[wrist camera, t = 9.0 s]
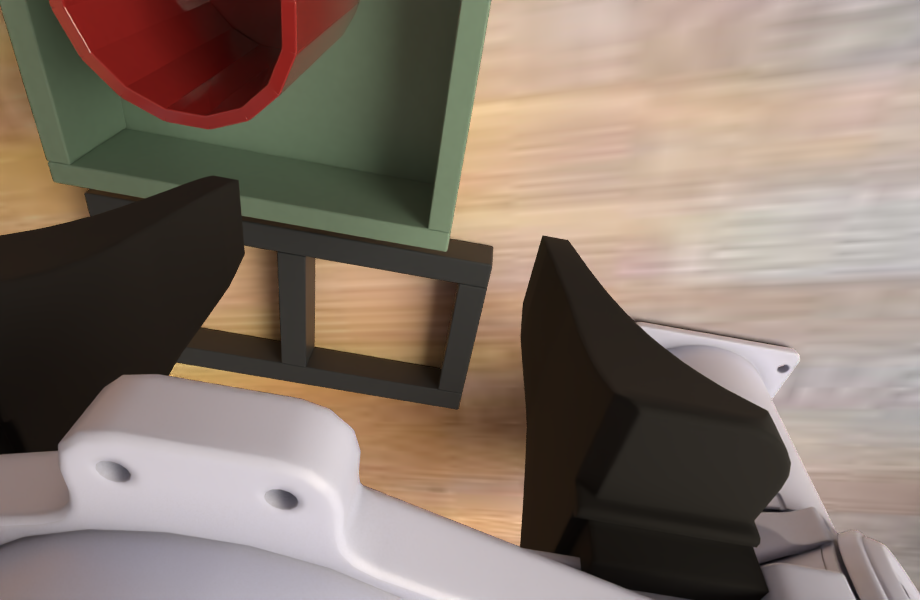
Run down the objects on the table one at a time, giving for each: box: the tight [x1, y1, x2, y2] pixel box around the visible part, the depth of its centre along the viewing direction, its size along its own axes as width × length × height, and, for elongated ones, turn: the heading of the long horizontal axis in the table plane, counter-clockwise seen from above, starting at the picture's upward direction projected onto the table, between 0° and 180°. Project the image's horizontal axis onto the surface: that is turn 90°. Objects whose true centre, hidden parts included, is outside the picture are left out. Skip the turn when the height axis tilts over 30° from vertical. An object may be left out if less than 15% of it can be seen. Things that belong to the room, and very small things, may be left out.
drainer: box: [84, 189, 493, 409], centre depth 26 cm, size 9×16×2 cm, turn 81°
